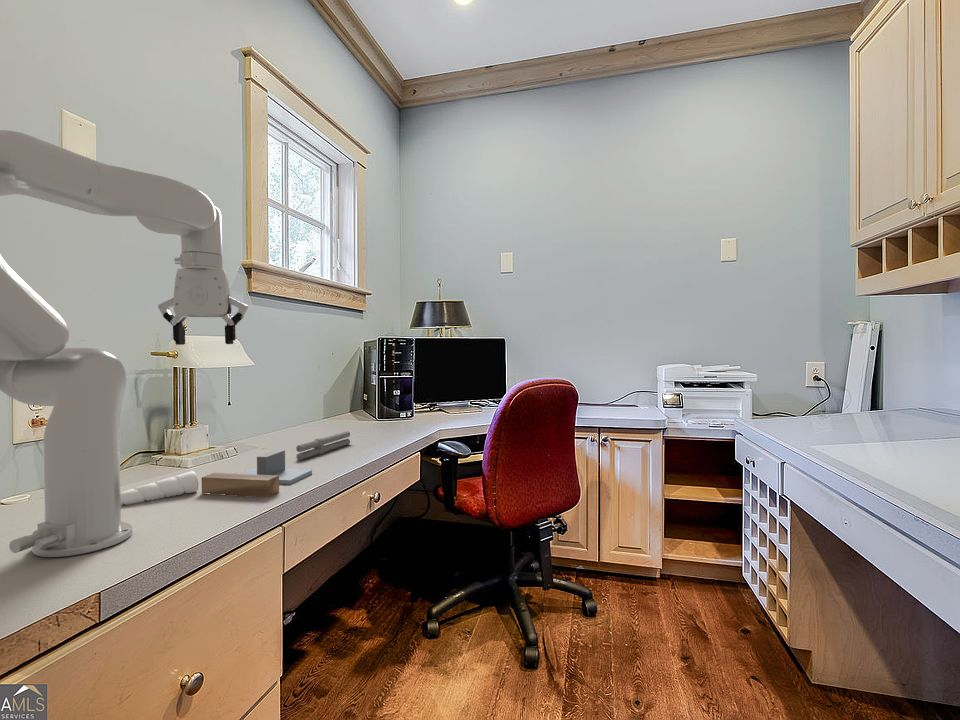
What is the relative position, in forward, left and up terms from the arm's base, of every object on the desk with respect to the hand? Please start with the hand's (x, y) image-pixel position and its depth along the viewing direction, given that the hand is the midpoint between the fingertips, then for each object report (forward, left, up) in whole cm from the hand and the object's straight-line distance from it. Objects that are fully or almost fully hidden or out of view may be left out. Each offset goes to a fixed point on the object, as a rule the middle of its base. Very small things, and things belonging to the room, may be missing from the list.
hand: (205, 344), depth 103 cm
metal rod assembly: (+47, -2, -33) cm, 58 cm away
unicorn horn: (-6, +11, -33) cm, 36 cm away
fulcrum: (+16, -5, -33) cm, 37 cm away
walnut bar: (+3, -6, -33) cm, 34 cm away
